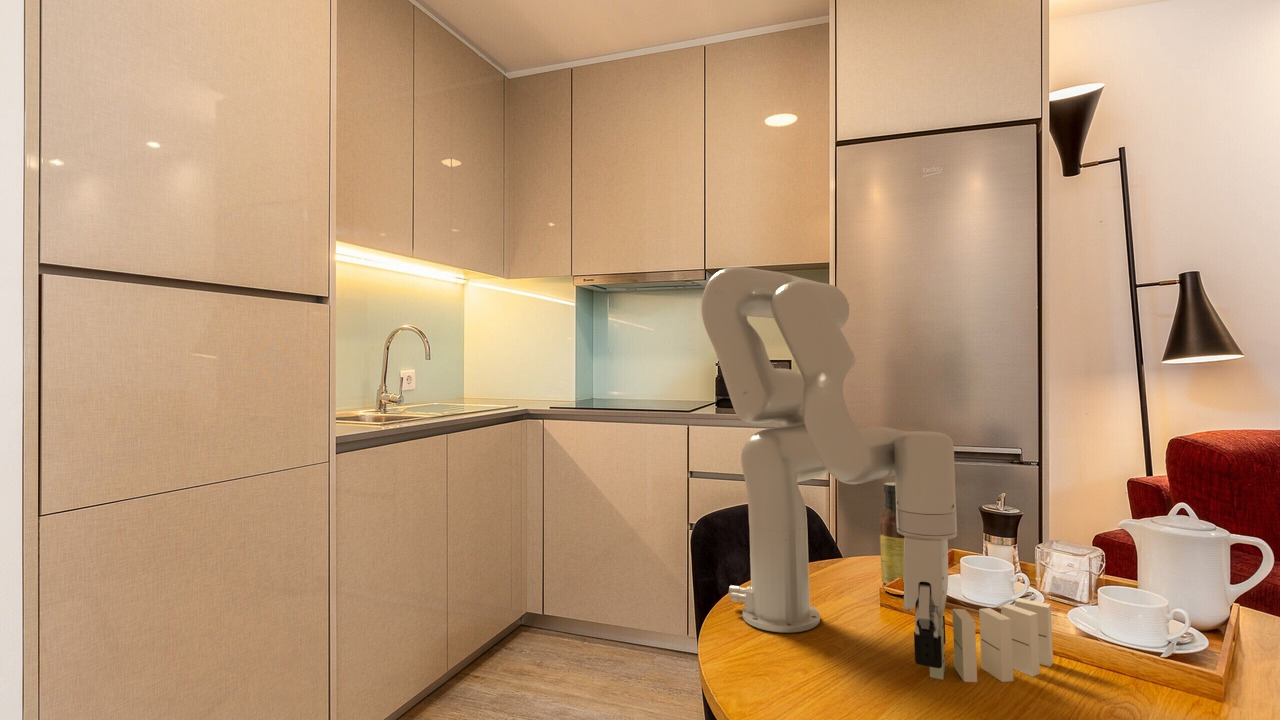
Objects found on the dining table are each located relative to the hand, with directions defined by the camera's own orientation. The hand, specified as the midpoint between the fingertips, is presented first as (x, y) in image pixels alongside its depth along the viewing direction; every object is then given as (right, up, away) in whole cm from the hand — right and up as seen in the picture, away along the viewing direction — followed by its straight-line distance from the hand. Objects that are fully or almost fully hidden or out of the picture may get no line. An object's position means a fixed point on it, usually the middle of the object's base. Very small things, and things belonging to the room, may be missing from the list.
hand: (930, 652), depth 86 cm
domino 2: (+8, -2, -2) cm, 9 cm away
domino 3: (+12, -2, 0) cm, 12 cm away
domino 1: (+4, -2, -1) cm, 5 cm away
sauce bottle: (+9, -3, +31) cm, 32 cm away
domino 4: (+16, -2, +2) cm, 16 cm away
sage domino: (+1, -2, -1) cm, 2 cm away
